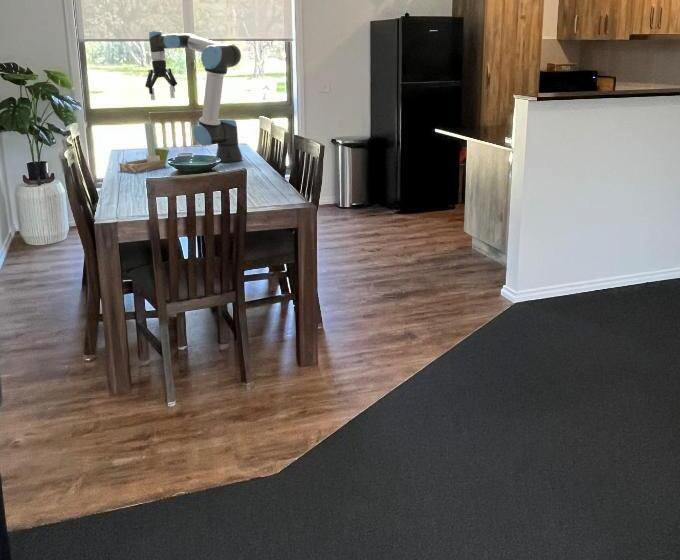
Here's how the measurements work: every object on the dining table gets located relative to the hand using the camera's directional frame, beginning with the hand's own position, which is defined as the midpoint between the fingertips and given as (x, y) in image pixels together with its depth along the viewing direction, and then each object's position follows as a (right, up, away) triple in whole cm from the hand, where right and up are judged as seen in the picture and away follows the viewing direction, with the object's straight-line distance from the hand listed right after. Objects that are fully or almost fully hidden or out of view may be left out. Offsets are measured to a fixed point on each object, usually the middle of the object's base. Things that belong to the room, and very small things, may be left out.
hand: (163, 99), depth 419 cm
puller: (-2, -40, -11) cm, 42 cm away
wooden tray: (-7, -42, -16) cm, 46 cm away
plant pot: (0, -39, -9) cm, 40 cm away
